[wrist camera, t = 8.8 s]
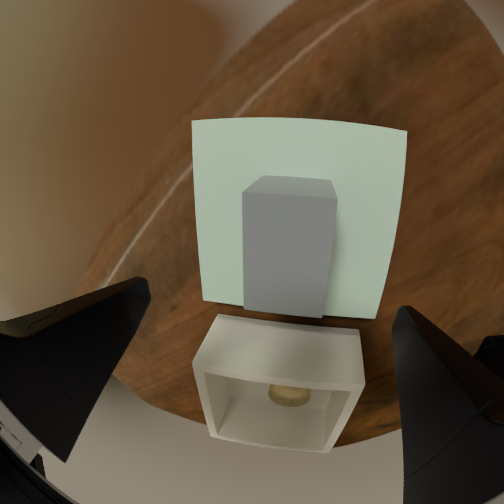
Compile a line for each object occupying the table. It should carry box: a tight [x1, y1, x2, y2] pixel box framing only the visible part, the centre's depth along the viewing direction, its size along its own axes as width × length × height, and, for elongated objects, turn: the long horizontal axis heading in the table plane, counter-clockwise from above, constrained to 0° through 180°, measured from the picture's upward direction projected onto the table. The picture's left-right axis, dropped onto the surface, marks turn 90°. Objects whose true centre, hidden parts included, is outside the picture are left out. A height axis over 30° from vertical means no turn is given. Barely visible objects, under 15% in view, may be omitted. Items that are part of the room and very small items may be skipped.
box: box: [192, 314, 365, 454], centre depth 22 cm, size 12×12×6 cm
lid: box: [192, 118, 407, 319], centre depth 15 cm, size 13×13×7 cm
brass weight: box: [268, 384, 311, 407], centre depth 22 cm, size 4×4×3 cm
